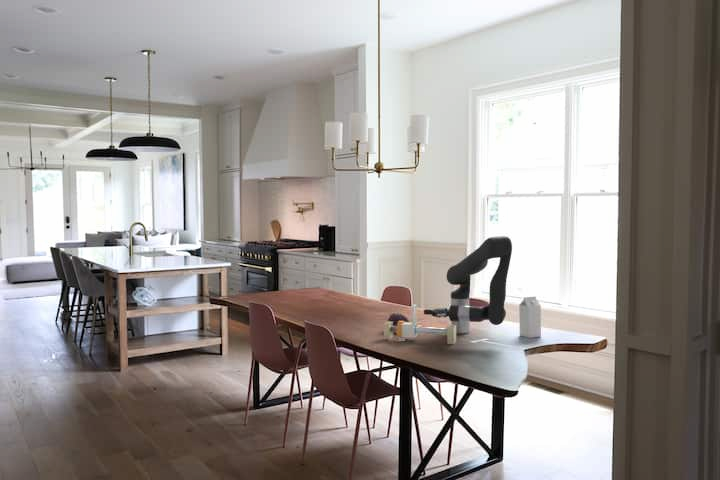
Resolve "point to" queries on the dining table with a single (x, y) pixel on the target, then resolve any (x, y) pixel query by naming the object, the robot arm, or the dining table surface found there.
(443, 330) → the pipe rail
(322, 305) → the dining table surface
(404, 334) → the sleeve
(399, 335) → the ring
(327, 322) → the dining table surface
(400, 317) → the pine cone
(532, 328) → the milk carton
